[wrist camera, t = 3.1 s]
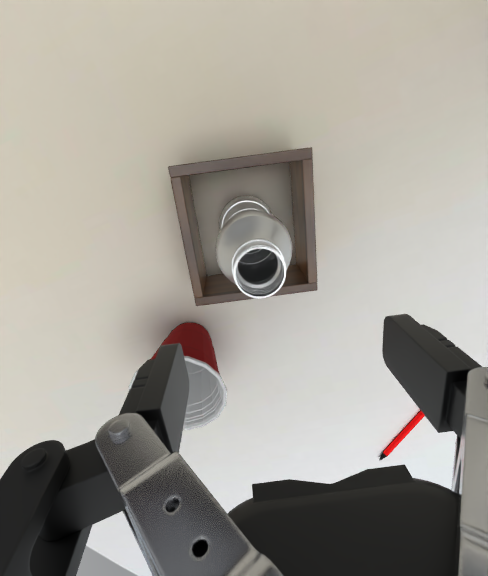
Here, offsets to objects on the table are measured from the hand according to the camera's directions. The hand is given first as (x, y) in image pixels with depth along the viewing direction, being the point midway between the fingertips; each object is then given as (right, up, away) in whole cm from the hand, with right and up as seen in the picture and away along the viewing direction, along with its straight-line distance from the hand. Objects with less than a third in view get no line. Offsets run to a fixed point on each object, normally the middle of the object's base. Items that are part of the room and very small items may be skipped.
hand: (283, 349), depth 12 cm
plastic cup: (-9, -5, +33) cm, 35 cm away
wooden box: (-1, +11, +27) cm, 29 cm away
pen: (+27, -20, +41) cm, 53 cm away
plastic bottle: (-1, +11, +27) cm, 29 cm away
